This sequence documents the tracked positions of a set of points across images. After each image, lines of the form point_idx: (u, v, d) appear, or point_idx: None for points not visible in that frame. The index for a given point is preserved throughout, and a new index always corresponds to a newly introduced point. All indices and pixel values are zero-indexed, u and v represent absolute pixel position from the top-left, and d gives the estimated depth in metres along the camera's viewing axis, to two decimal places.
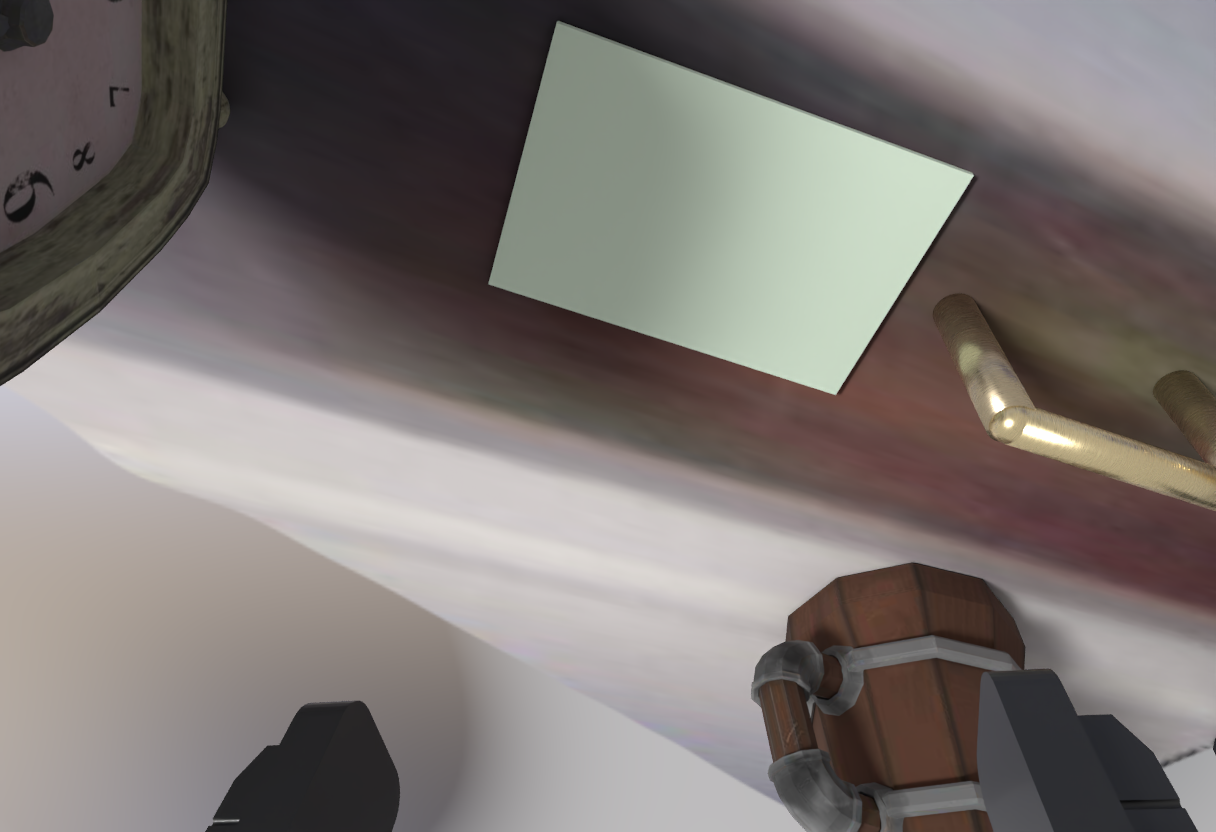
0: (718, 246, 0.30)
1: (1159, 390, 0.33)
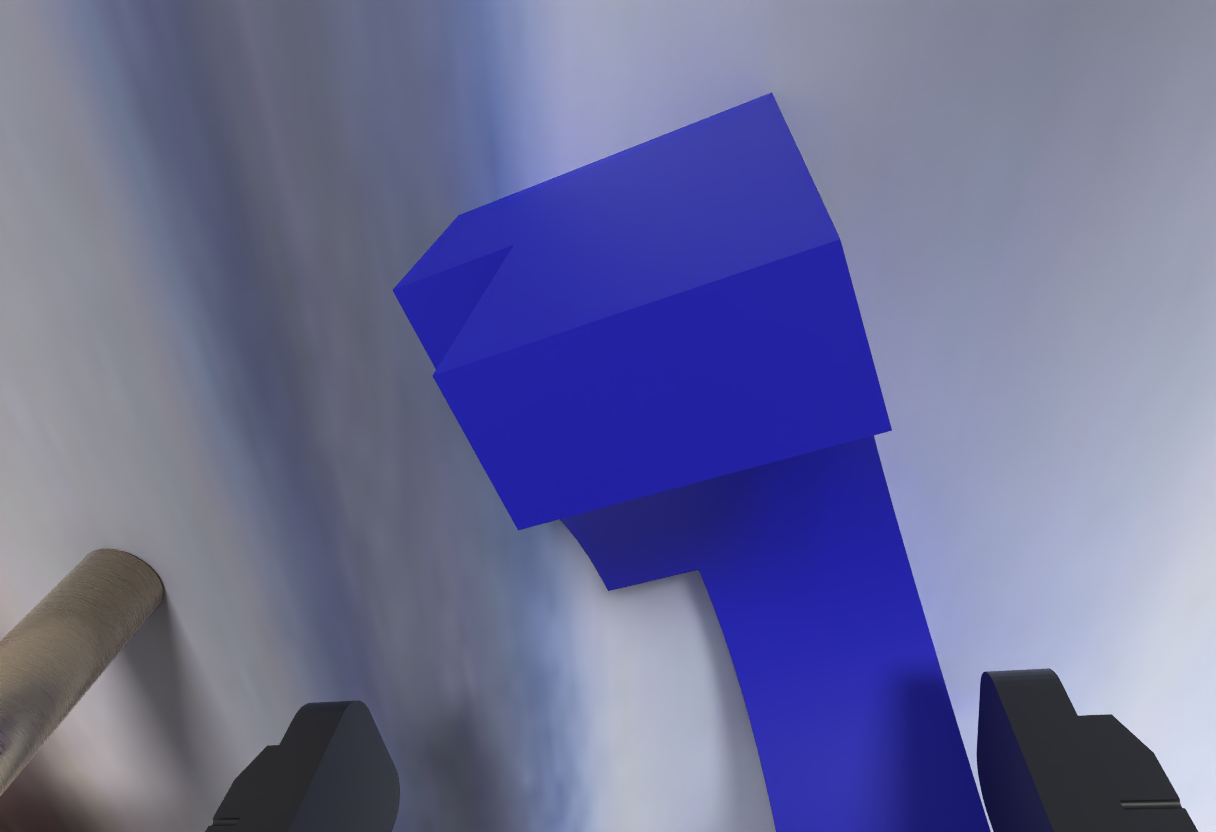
0: None
1: None
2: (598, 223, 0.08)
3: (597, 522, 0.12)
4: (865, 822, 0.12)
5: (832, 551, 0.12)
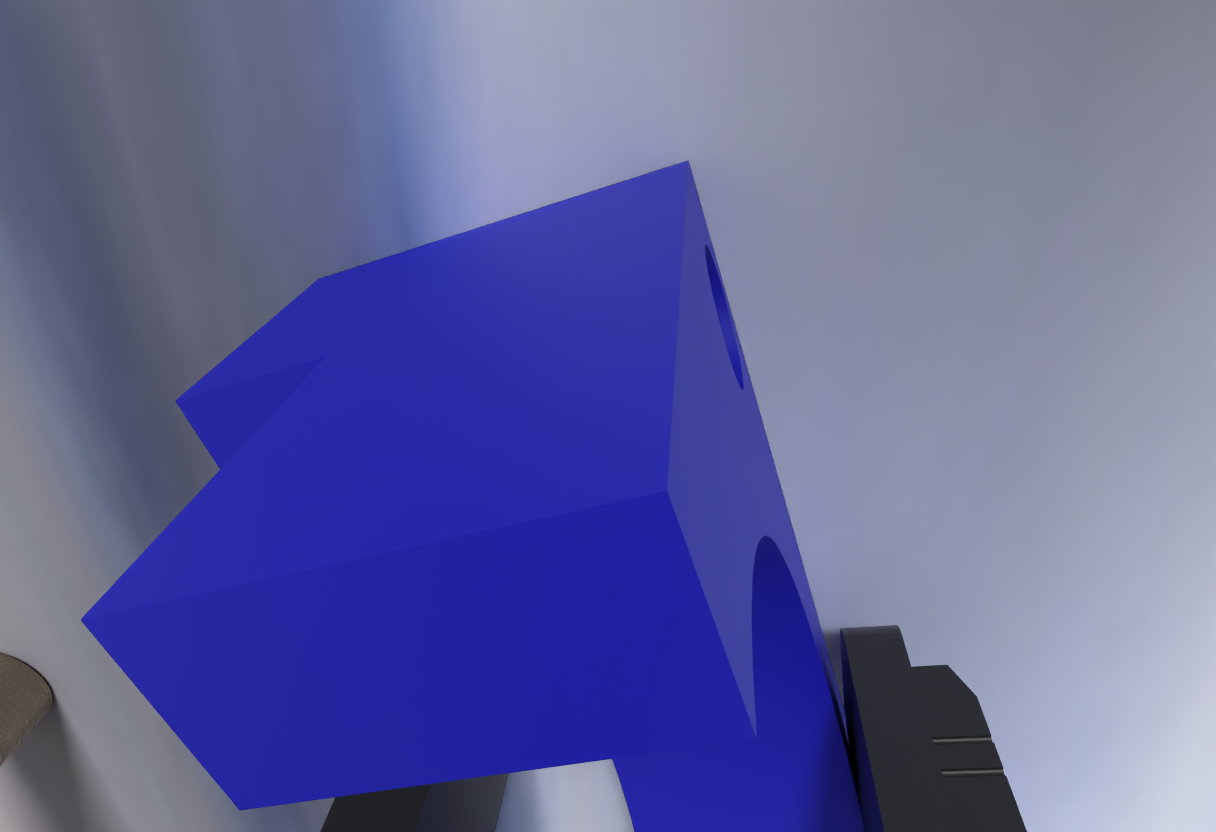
0: None
1: None
2: (422, 346, 0.06)
3: None
4: None
5: None
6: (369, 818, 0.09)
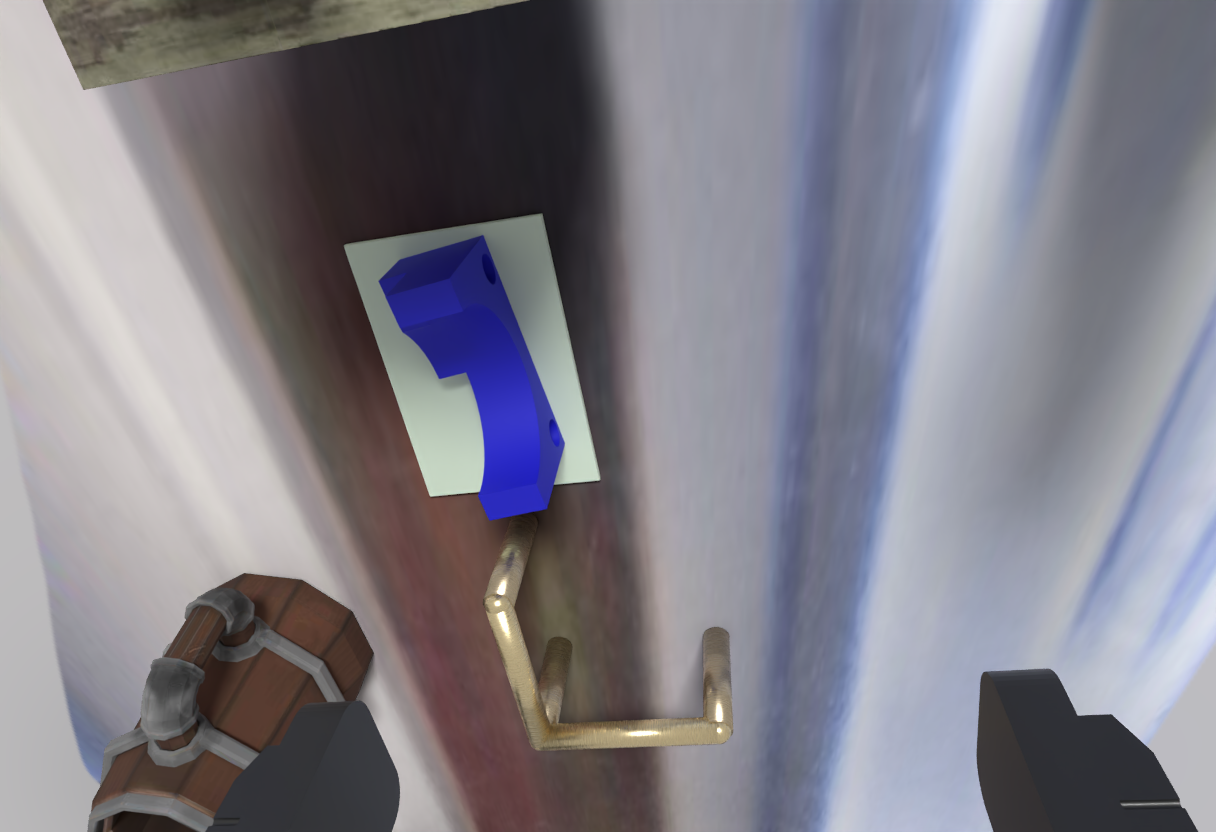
0: None
1: (553, 641, 0.51)
2: (424, 269, 0.36)
3: (434, 353, 0.40)
4: (508, 448, 0.40)
5: (504, 367, 0.40)
6: None
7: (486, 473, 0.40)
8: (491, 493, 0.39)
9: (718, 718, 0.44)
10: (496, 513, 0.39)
